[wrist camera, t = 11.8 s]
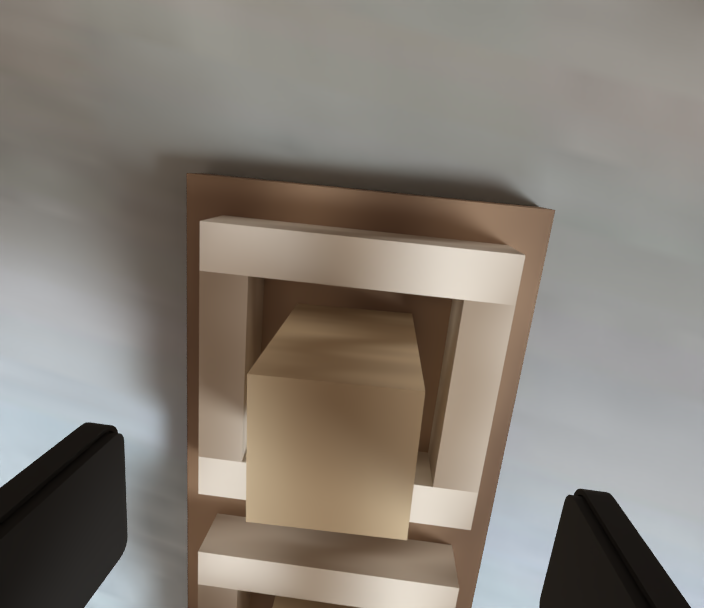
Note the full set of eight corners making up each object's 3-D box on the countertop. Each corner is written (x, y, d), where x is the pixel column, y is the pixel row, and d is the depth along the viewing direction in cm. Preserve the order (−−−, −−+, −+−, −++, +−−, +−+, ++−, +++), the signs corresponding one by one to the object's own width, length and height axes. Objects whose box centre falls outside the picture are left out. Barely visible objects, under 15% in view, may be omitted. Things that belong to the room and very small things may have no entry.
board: (540, 207, 16) (661, 232, 9) (439, 704, 23) (463, 950, 16) (204, 173, 17) (64, 171, 10) (200, 667, 23) (115, 888, 16)
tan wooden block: (412, 313, 16) (425, 391, 10) (400, 417, 17) (406, 540, 11) (297, 303, 16) (247, 374, 10) (293, 406, 17) (245, 521, 12)
